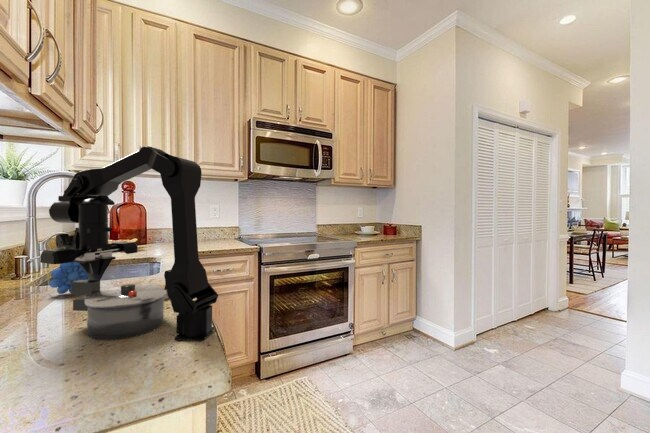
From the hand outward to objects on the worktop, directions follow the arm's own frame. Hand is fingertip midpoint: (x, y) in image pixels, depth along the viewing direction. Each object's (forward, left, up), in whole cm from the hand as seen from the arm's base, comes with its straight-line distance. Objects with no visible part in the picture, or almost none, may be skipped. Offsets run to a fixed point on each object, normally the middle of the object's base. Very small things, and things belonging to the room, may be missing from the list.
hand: (94, 286), depth 73 cm
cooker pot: (-8, +3, -9) cm, 12 cm away
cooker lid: (-8, +3, -2) cm, 9 cm away
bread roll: (-4, -21, -9) cm, 24 cm away
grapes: (+27, -24, -9) cm, 37 cm away
